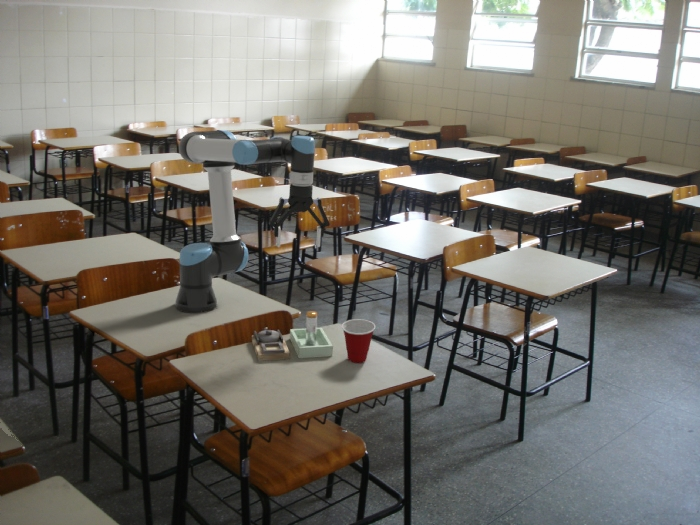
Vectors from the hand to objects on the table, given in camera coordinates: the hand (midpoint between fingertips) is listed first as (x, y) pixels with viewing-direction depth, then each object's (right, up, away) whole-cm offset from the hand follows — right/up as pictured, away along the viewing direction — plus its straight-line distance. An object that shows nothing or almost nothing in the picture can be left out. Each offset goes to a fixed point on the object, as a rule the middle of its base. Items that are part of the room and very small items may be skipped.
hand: (298, 246), depth 238 cm
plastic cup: (+20, -37, -11) cm, 43 cm away
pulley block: (-9, -34, -7) cm, 36 cm away
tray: (+4, -34, -3) cm, 34 cm away
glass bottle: (+4, -33, -4) cm, 33 cm away
